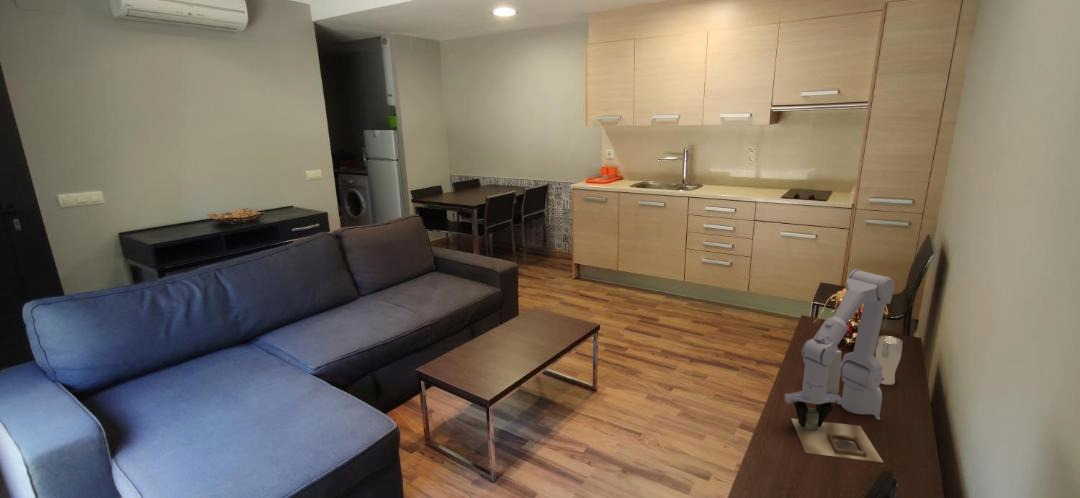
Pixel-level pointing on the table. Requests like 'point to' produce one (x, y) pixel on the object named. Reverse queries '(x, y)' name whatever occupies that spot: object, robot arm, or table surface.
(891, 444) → the table surface
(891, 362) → the beer glass
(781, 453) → the table surface
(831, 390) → the skincare box
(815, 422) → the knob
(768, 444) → the table surface
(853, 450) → the board
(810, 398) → the robot arm
